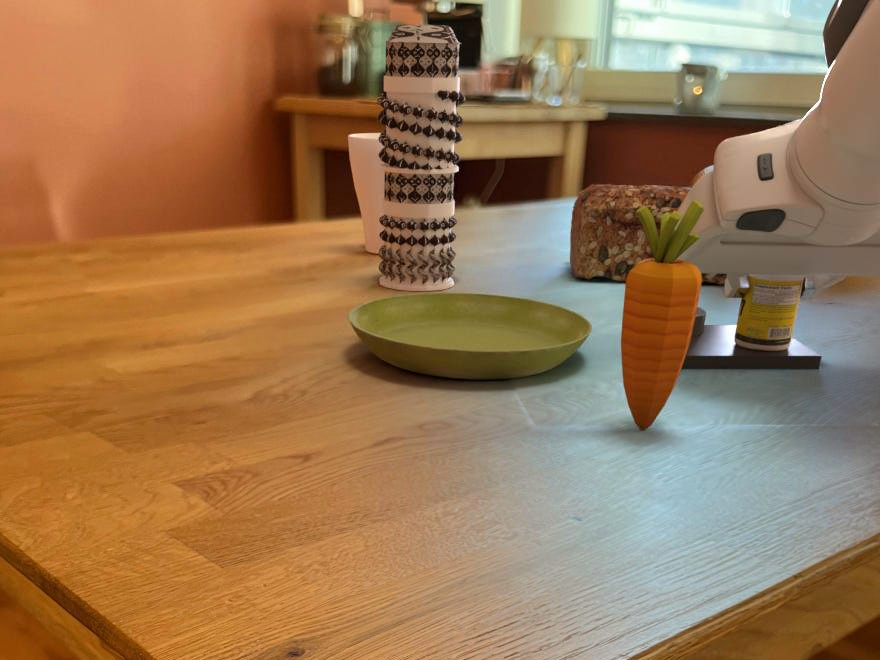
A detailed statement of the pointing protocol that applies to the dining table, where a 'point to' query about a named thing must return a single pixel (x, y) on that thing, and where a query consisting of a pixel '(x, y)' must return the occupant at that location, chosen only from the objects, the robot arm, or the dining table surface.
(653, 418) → the carrot
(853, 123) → the robot arm
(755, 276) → the supplement bottle
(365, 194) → the cup
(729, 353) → the scale
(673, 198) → the bread
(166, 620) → the dining table surface
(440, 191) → the decorative candle
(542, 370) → the saucer
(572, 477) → the dining table surface
